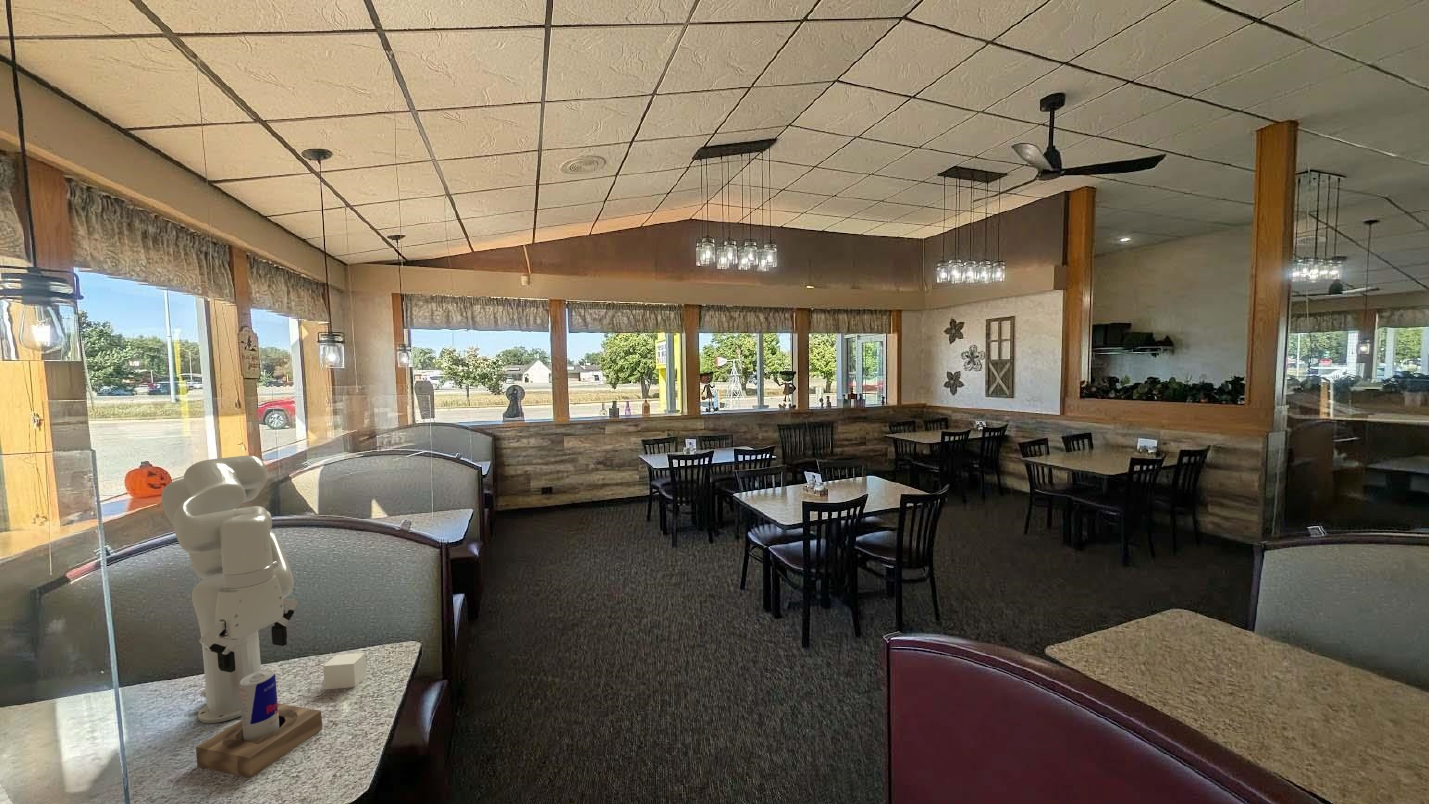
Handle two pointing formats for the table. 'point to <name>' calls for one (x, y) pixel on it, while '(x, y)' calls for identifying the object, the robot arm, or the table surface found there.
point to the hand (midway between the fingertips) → (254, 657)
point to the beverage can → (259, 704)
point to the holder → (258, 743)
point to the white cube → (345, 671)
